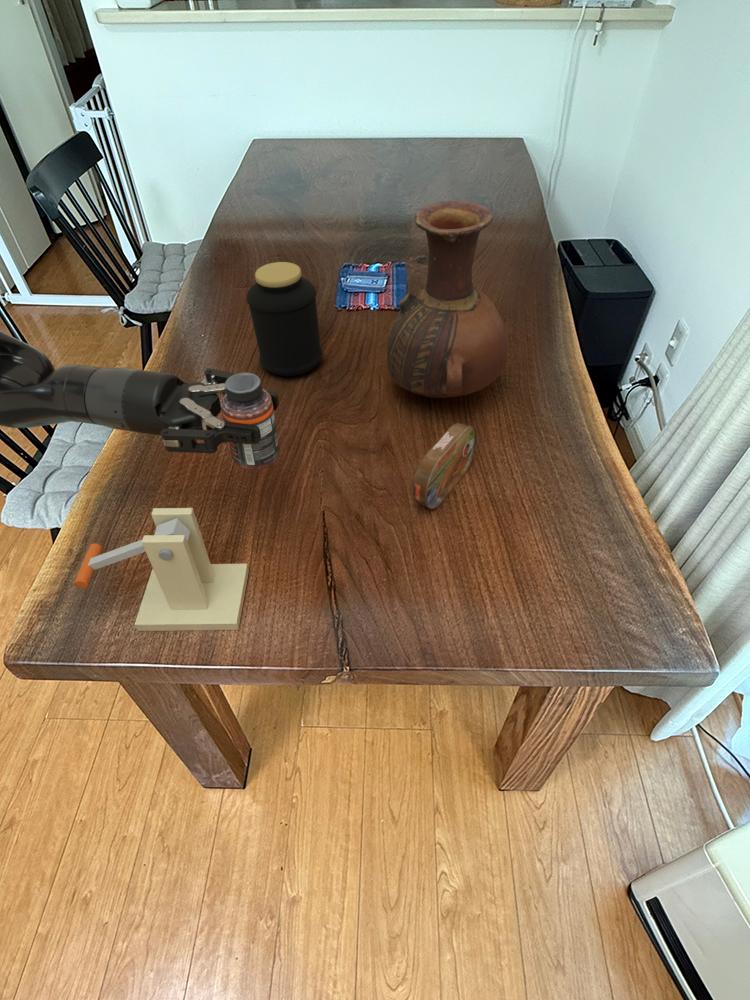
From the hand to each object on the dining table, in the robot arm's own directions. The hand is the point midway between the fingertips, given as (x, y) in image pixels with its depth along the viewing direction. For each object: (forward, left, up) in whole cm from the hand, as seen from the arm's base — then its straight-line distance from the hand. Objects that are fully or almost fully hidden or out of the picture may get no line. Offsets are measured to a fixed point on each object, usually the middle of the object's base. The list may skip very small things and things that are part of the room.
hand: (268, 417), depth 70 cm
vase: (+38, -11, -18) cm, 44 cm away
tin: (+15, -18, -18) cm, 30 cm away
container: (+36, +18, -18) cm, 44 cm away
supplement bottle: (0, +2, -7) cm, 7 cm away
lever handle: (-17, +9, -10) cm, 22 cm away
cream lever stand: (-16, +4, -18) cm, 24 cm away
